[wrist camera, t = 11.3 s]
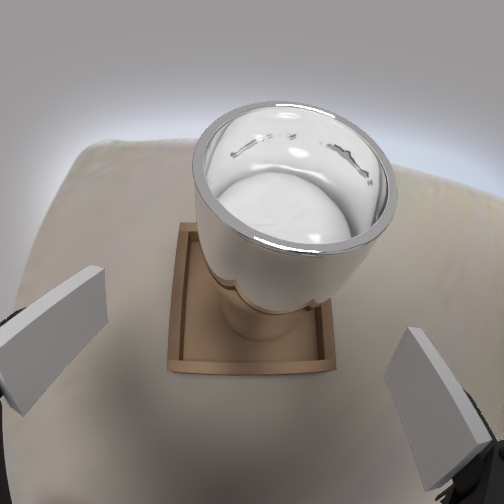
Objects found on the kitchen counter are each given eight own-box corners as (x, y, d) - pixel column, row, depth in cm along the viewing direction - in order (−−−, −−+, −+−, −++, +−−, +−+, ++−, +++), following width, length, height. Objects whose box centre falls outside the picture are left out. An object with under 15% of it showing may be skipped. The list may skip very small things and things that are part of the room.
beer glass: (230, 358, 19) (218, 298, 6) (204, 274, 22) (171, 113, 9) (317, 329, 21) (439, 227, 7) (286, 251, 24) (339, 94, 10)
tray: (313, 240, 25) (321, 226, 23) (325, 371, 20) (336, 369, 18) (184, 237, 25) (180, 222, 22) (174, 372, 19) (166, 370, 17)
